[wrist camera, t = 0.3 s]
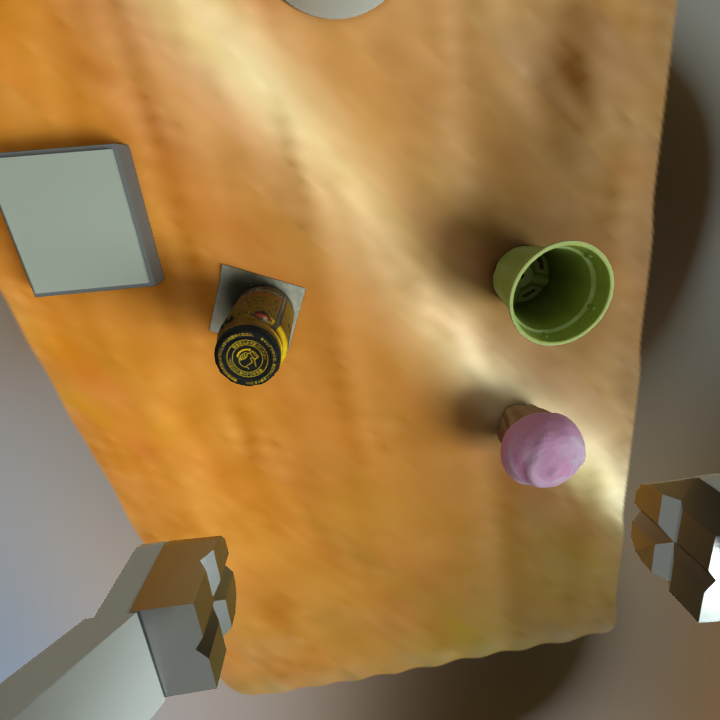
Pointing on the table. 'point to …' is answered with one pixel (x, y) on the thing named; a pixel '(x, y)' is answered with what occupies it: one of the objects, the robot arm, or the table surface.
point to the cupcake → (539, 446)
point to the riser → (78, 219)
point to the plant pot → (555, 290)
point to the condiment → (253, 324)
